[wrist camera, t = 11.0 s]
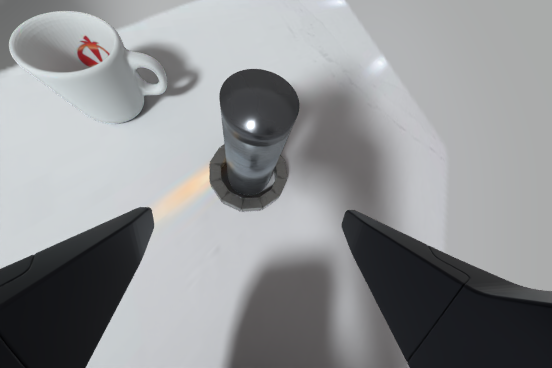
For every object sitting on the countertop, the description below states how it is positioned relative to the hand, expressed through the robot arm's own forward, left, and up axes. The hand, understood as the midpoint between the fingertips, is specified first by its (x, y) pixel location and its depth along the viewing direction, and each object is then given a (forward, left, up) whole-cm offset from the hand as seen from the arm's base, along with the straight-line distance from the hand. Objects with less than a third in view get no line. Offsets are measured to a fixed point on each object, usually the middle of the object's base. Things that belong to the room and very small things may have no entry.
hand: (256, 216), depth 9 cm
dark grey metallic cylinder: (+7, -1, -14) cm, 16 cm away
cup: (+18, +13, -14) cm, 26 cm away
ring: (+8, -1, -14) cm, 16 cm away
